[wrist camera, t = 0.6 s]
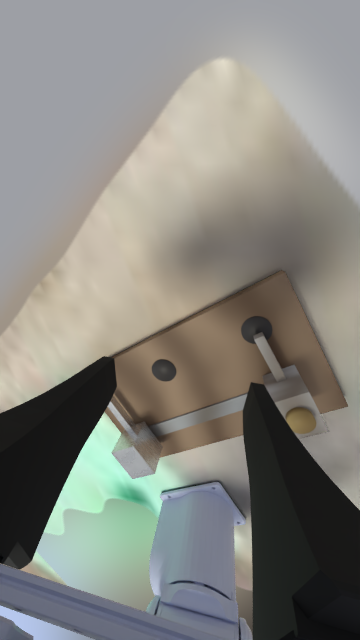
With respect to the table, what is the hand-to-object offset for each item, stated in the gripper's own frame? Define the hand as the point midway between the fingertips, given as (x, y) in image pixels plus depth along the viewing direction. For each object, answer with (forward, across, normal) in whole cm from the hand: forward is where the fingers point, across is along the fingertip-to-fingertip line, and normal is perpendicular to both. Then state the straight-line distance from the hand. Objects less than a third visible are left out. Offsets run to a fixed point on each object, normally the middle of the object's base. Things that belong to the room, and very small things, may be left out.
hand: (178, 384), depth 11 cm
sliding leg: (+7, +6, +14) cm, 17 cm away
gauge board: (+10, -1, +9) cm, 13 cm away
